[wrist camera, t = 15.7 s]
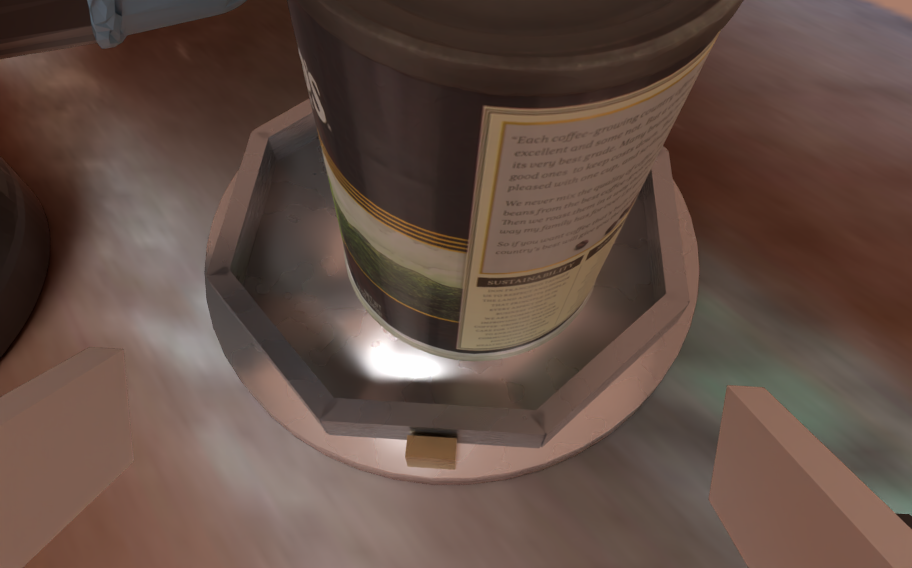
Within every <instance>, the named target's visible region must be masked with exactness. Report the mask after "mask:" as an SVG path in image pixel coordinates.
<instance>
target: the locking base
mask: <svg viewBox="0 0 912 568" xmlns="http://www.w3.org/2000/svg"><path fill="white" fill-rule="evenodd" d="M667 150H668V149H666V148H665V147H664V146H662V148H661V150H660V152H659V154H658V156H657V158H656V160H655V162H654V164H653V166H652V168H651V170H650V172H649V174H648V176H647V178H646V180H645V182H644V184H643V186H642V188H641V190H640V192H639V194H638V196H637V198H636V201H635V203H634V204H633V206H632V208H631V210H630V212H629V214H628V216H627V218H626V220H625V222H624V224H623V226H622V228H621V230H620V232H619V234H618V236H617V238H616V240H615V242H614V244H613V246H612V248H611V250H610V252H609V254H608V256H607V258H606V260H605V262H604V264H603V266H602V268H601V270H600V272H599V274H598V276H597V278H596V282H595V285H594V288H593V291H592V293H591V295H590V297H589V299H588V300H587V302H586V304H585V306H584V307H583V309H582V311H581V312H580V313H579V315H578V316H577V317H576V318H575V319H574V320H573V321H572V322H571V323H570V325H569V326H568V327H567V328H566V329H565V330H564V331H562V332H561V333H560V334H559V335H558V336H556V337H554V338H553V339H551V340H549V341H548V342H546V343H544V344H542V345H541V346H539V347H537V348H535V349H532V350H530V351H528V352H525V353H522V354H519V355H516V356H512V357H508V358H503V359H498V360H487V361H462V360H454V359H449V358H444V357H440V356H436V355H432V354H430V353H427V352H424V351H422V350H419V349H417V348H414V347H412V346H410V345H408V344H407V343H405V342H403V341H401V340H399V339H398V338H396V337H395V336H393V335H392V334H391V333H389V332H388V331H387V330H385V329H384V328H383V327H382V326H381V325H380V324H379V323H378V322H377V321H376V320H374V319H373V318H372V316H371V315H370V314H369V313H368V312H367V311H366V309H365V308H364V306H363V304H362V303H361V302H360V300H359V298H358V297H357V295H356V293H355V291H354V289H353V287H352V284H351V282H350V279H349V276H348V272H347V268H346V264H345V258H344V247H343V241H342V236H341V232H340V228H339V223H338V218H337V213H336V209H335V205H334V200H333V196H332V192H331V188H330V183H329V179H328V175H327V171H326V166H325V162H324V157H323V153H322V148H321V144H320V139H319V135H318V131H317V127H316V123H315V119H314V115H313V111H312V107H311V103H310V99H307V100H305V101H304V102H302V103H300V104H298V105H297V106H295V107H293V108H291V109H290V110H288V111H286V112H284V113H282V114H281V115H279V116H277V117H275V118H274V119H272V120H270V121H268V122H267V123H265V124H263V125H261V126H259V127H258V128H256V129H254V130H253V132H251V134H250V138H249V141H248V144H247V147H246V150H245V153H244V157H243V160H242V163H241V166H240V168H239V170H238V171H237V172H236V174H235V176H234V177H233V179H232V181H231V183H230V184H229V186H228V188H227V189H226V191H225V193H224V195H223V197H222V199H221V202H220V204H219V207H218V209H217V212H216V214H215V216H214V219H213V223H212V227H211V231H210V235H209V239H208V243H207V251H206V262H205V284H206V298H207V303H208V308H209V312H210V316H211V320H212V324H213V328H214V330H215V333H216V335H217V337H218V340H219V342H220V345H221V347H222V349H223V352H224V354H225V356H226V358H227V359H228V361H229V362H230V364H231V366H232V367H233V369H234V370H235V372H236V373H237V375H238V377H239V378H240V380H241V381H242V383H243V384H244V385H245V387H246V388H247V389H248V390H249V392H250V393H251V394H252V395H253V396H254V397H255V399H256V400H257V401H258V402H259V403H260V404H261V405H262V407H263V408H264V409H265V410H266V411H267V412H268V413H269V415H270V416H271V417H273V418H274V419H275V420H276V421H277V422H279V423H280V424H281V425H282V426H283V427H285V428H286V429H287V430H288V431H289V432H291V433H292V434H293V435H294V436H295V437H297V438H298V439H300V440H301V441H303V442H305V443H306V444H308V445H310V446H311V447H313V448H314V449H316V450H318V451H319V452H321V453H323V454H324V455H326V456H328V457H331V458H333V459H335V460H337V461H340V462H342V463H344V464H347V465H349V466H351V467H354V468H356V469H358V470H362V471H365V472H369V473H372V474H376V475H380V476H383V477H387V478H391V479H394V480H401V481H409V482H416V483H424V484H431V485H470V484H478V483H485V482H493V481H500V480H507V479H511V478H515V477H518V476H522V475H525V474H529V473H533V472H536V471H540V470H543V469H546V468H548V467H550V466H553V465H555V464H557V463H560V462H562V461H564V460H567V459H569V458H571V457H574V456H576V455H578V454H579V453H581V452H583V451H584V450H586V449H588V448H589V447H591V446H592V445H594V444H596V443H597V442H599V441H601V440H602V439H604V438H606V437H607V436H608V435H609V434H611V433H612V432H613V431H614V430H615V429H617V428H618V427H619V426H620V425H621V424H623V423H624V422H625V421H626V420H627V419H629V418H630V417H631V416H632V415H633V414H634V413H635V412H636V411H637V410H638V408H639V407H640V406H641V405H642V404H643V403H644V402H645V401H646V399H647V398H648V397H649V396H650V395H651V394H652V393H653V392H654V390H655V389H656V387H657V386H658V385H659V383H660V382H661V380H662V379H663V377H664V376H665V374H666V372H667V371H668V369H669V368H670V366H671V365H672V363H673V362H674V360H675V358H676V357H677V355H678V353H679V351H680V349H681V346H682V344H683V342H684V340H685V337H686V335H687V333H688V330H689V328H690V325H691V321H692V317H693V313H694V309H695V305H696V301H697V293H698V282H699V260H698V246H697V241H696V236H695V232H694V228H693V224H692V219H691V216H690V214H689V211H688V209H687V206H686V204H685V201H684V199H683V196H682V194H681V192H680V190H679V189H678V187H677V185H676V183H675V182H674V180H673V178H672V172H671V164H670V157H669V151H667Z"/></svg>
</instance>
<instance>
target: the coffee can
mask: <svg viewBox="0 0 912 568" xmlns="http://www.w3.org/2000/svg"><path fill="white" fill-rule="evenodd" d="M287 2H288V7H289V11H290V15H291V21H292V25H293V29H294V33H295V37H296V40H297V45H298V51H299V55H300V58H301V62H302V67H303V72H304V76H305V80H306V84H307V89H308V94H309V99H310V103H311V107H312V111H313V115H314V119H315V123H316V127H317V131H318V135H319V139H320V144H321V148H322V153H323V157H324V162H325V166H326V171H327V175H328V179H329V183H330V188H331V192H332V196H333V200H334V205H335V209H336V213H337V218H338V223H339V228H340V232H341V236H342V241H343V247H344V258H345V264H346V268H347V272H348V276H349V279H350V282H351V284H352V287H353V289H354V291H355V293H356V295H357V297H358V298H359V300H360V302H361V303H362V304H363V306H364V308H365V309H366V311H367V312H368V313H369V314H370V315H371V316H372V318H373V319H374V320H376V321H377V322H378V323H379V324H380V325H381V326H382V327H383V328H384V329H385V330H387V331H388V332H389V333H391V334H392V335H393V336H395V337H396V338H398V339H399V340H401V341H403V342H405V343H407V344H408V345H410V346H412V347H414V348H417V349H419V350H422V351H424V352H427V353H430V354H432V355H436V356H440V357H444V358H449V359H454V360H462V361H487V360H498V359H503V358H508V357H512V356H516V355H519V354H522V353H525V352H528V351H530V350H532V349H535V348H537V347H539V346H541V345H542V344H544V343H546V342H548V341H549V340H551V339H553V338H554V337H556V336H558V335H559V334H560V333H561V332H562V331H564V330H565V329H566V328H567V327H568V326H569V325H570V323H571V322H572V321H573V320H574V319H575V318H576V317H577V316H578V315H579V313H580V312H581V311H582V309H583V307H584V306H585V304H586V302H587V300H588V299H589V297H590V295H591V293H592V291H593V288H594V285H595V282H596V278H597V276H598V274H599V272H600V270H601V268H602V266H603V264H604V262H605V260H606V258H607V256H608V254H609V252H610V250H611V248H612V246H613V244H614V242H615V240H616V238H617V236H618V234H619V232H620V230H621V228H622V226H623V224H624V222H625V220H626V218H627V216H628V214H629V212H630V210H631V208H632V206H633V204H634V203H635V201H636V198H637V196H638V194H639V192H640V190H641V188H642V186H643V184H644V182H645V180H646V178H647V176H648V174H649V172H650V170H651V168H652V166H653V164H654V162H655V160H656V158H657V156H658V154H659V152H660V150H661V148H662V146H663V144H664V142H665V140H666V138H667V136H668V134H669V132H670V130H671V128H672V126H673V124H674V122H675V120H676V118H677V116H678V114H679V112H680V111H681V109H682V107H683V105H684V103H685V101H686V99H687V97H688V95H689V93H690V91H691V89H692V87H693V85H694V83H695V81H696V79H697V77H698V75H699V73H700V71H701V69H702V67H703V65H704V63H705V61H706V59H707V57H708V55H709V53H710V51H711V49H712V47H713V45H714V43H715V41H716V39H717V37H718V35H719V33H720V31H721V29H722V28H723V27H724V26H725V25H726V24H727V22H728V21H729V20H730V19H731V18H732V16H733V15H734V14H735V12H736V11H737V9H738V8H739V6H740V5H741V3H742V2H743V0H287Z"/></svg>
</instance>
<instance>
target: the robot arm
mask: <svg viewBox="0 0 912 568" xmlns="http://www.w3.org/2000/svg"><path fill="white" fill-rule="evenodd" d="M246 1H247V0H0V59H4V58H10V57H16V56H22V55H28V54H34V53H40V52H46V51H52V50H58V49H64V48H69V47H75V46H81V45H87V44H93V43H98V45H99V46H100V47H101V48H102V49H105V48H112V47H116V46H117V45H118V44H120V43H122V42H123V41H124V39H125V38H126V37H127V35H131V34H135V33H140V32H144V31H149V30H153V29H158V28H162V27H167V26H171V25H175V24H180V23H184V22H189V21H193V20H198V19H202V18H207V17H211V16H216V15H220V14H223V13H227V12H229V11H231V10H233V9H235V8H237V7H239V6H240V5H242V4H243V3H244V2H246ZM49 255H50V234H49V227H48V223H47V219H46V216H45V213H44V210H43V208H42V206H41V204H40V202H39V200H38V199H37V197H36V196H35V194H34V193H33V192H32V190H31V189H30V188H29V187H28V186H27V185H26V184H25V182H24V181H23V180H22V179H21V178H20V177H19V176H18V175H17V174H16V173H15V171H14V170H13V169H12V168H11V167H10V166H9V165H8V164H7V163H6V162H5V161H4V159H3V158H2V157H0V357H1V356H2V355H3V354H4V352H5V351H6V350H7V349H8V347H9V346H10V345H11V343H12V342H13V341H14V339H15V338H16V336H17V335H18V333H19V332H20V330H21V329H22V327H23V326H24V324H25V322H26V321H27V319H28V317H29V316H30V314H31V312H32V310H33V308H34V306H35V304H36V301H37V299H38V297H39V294H40V292H41V289H42V286H43V283H44V280H45V276H46V272H47V268H48V262H49ZM133 462H134V456H133V446H132V435H131V424H130V413H129V402H128V391H127V380H126V370H125V359H124V349H115V348H98V347H89V348H87V349H85V350H83V351H82V352H80V353H78V354H76V355H75V356H73V357H71V358H69V359H67V360H66V361H64V362H62V363H60V364H58V365H57V366H55V367H53V368H51V369H50V370H48V371H46V372H44V373H42V374H41V375H39V376H37V377H35V378H34V379H32V380H30V381H28V382H26V383H25V384H23V385H21V386H19V387H17V388H16V389H14V390H12V391H10V392H9V393H7V394H5V395H3V396H1V397H0V568H23V567H24V566H25V565H26V564H27V563H28V562H29V561H30V560H31V559H32V558H33V557H34V556H35V555H36V554H37V553H38V552H39V551H40V550H41V549H43V548H44V547H45V546H46V545H47V544H48V543H49V542H50V541H51V540H52V539H53V538H54V537H55V536H56V535H57V534H58V533H59V532H60V531H61V530H62V529H63V528H65V527H66V526H67V525H68V524H69V523H70V522H71V521H72V520H73V519H74V518H75V517H76V516H77V515H78V514H79V513H80V512H81V511H82V510H83V509H84V508H86V507H87V506H88V505H89V504H90V503H91V502H92V501H93V500H94V499H95V498H96V497H97V496H98V495H99V494H100V493H101V492H102V491H103V490H104V489H105V488H107V487H108V486H109V485H110V484H111V483H112V482H113V481H114V480H115V479H116V478H117V477H118V476H119V475H120V474H121V473H122V472H123V471H124V470H125V469H126V468H127V467H129V466H130V465H131V464H132V463H133ZM709 501H710V503H711V505H712V506H713V508H714V510H715V511H716V513H717V515H718V517H719V518H720V520H721V522H722V523H723V525H724V527H725V529H726V530H727V532H728V534H729V535H730V537H731V539H732V541H733V542H734V544H735V546H736V547H737V549H738V551H739V552H740V554H741V556H742V558H743V559H744V561H745V563H746V564H747V566H748V568H912V516H911V515H909V514H896V513H894V512H893V511H892V510H891V509H890V508H889V507H888V506H887V505H886V504H885V503H884V502H883V501H882V500H881V499H880V498H878V497H877V496H876V495H875V494H874V493H873V492H872V491H871V490H870V489H869V488H868V487H867V486H866V485H865V484H864V483H863V482H862V481H861V480H860V479H859V478H858V477H857V476H856V475H855V474H853V473H852V472H851V471H850V470H849V469H848V468H847V467H846V466H845V465H844V464H843V463H842V462H841V461H840V460H839V459H838V458H837V457H836V456H835V455H834V454H833V453H832V452H831V451H830V450H828V449H827V448H826V447H825V446H824V445H823V444H822V443H821V442H820V441H819V440H818V439H817V438H816V437H815V436H814V435H813V434H812V433H811V432H810V431H809V430H808V429H807V428H806V427H804V426H803V425H802V424H801V423H800V422H799V421H798V420H797V419H796V418H795V417H794V416H793V415H792V414H791V413H790V412H789V411H788V410H787V409H786V408H785V407H784V406H783V405H782V404H781V403H779V402H778V401H777V400H776V399H775V398H774V397H773V396H772V395H771V394H770V393H769V392H768V391H767V390H766V389H765V388H764V387H749V386H732V385H727V389H726V396H725V402H724V408H723V414H722V420H721V426H720V433H719V439H718V445H717V451H716V457H715V463H714V470H713V476H712V482H711V488H710V494H709Z"/></svg>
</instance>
